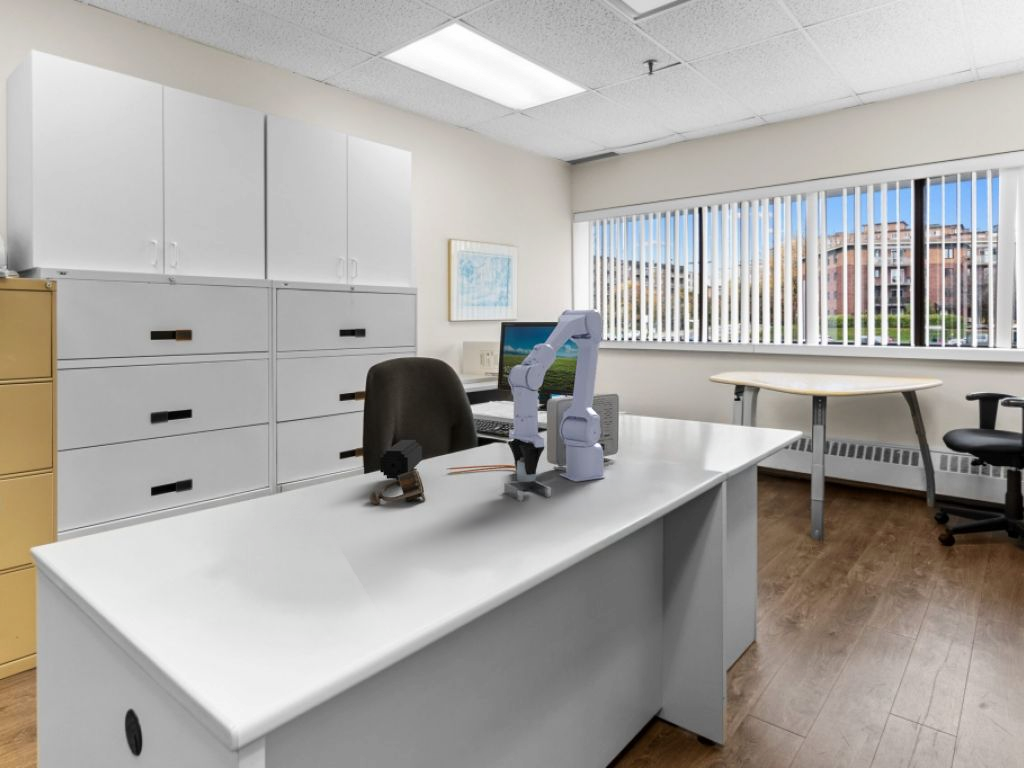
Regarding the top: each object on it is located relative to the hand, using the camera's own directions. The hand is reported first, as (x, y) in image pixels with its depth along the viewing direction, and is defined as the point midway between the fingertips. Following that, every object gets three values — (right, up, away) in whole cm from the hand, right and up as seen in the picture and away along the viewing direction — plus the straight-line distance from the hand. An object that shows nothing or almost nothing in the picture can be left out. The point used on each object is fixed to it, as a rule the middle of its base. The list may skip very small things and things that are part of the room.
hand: (525, 472), depth 150 cm
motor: (-9, -4, +15) cm, 18 cm away
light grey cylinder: (0, -2, 0) cm, 2 cm away
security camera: (-31, -5, +13) cm, 34 cm away
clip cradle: (0, -5, +1) cm, 5 cm away
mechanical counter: (-30, -6, -4) cm, 30 cm away
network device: (+18, -3, +31) cm, 36 cm away
